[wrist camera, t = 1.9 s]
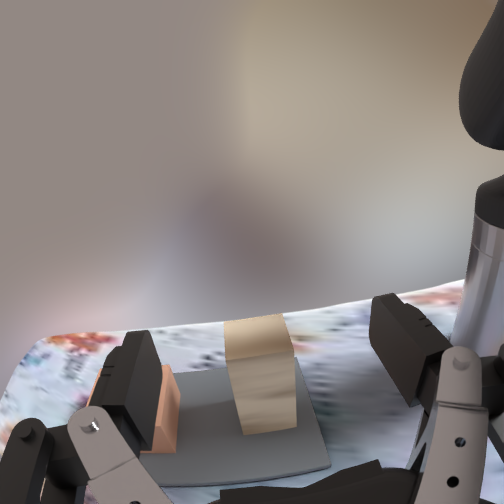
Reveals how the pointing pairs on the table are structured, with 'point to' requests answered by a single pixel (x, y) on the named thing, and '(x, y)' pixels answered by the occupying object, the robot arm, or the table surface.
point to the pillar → (261, 373)
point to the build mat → (233, 438)
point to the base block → (163, 414)
